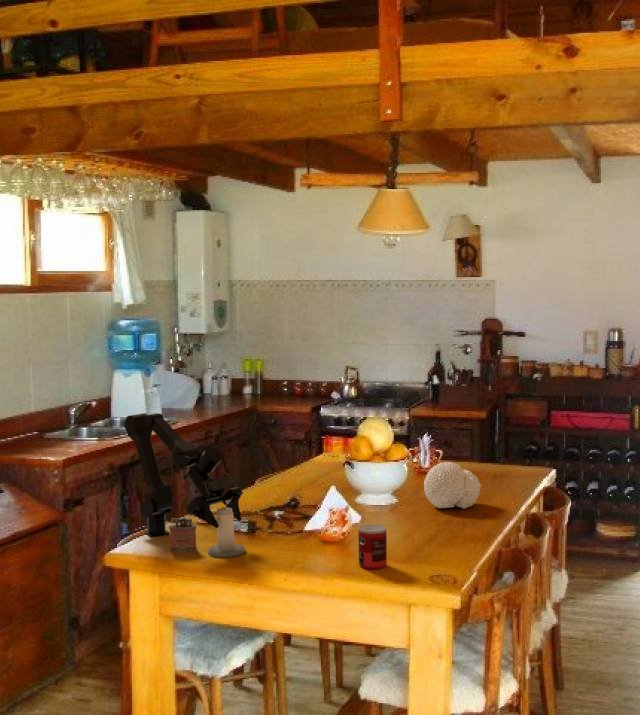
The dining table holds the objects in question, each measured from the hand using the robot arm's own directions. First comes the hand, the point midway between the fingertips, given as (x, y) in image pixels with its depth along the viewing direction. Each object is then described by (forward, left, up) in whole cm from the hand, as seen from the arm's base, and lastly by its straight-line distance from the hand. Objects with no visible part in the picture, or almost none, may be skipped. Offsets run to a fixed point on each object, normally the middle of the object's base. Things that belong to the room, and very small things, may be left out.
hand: (229, 523), depth 290 cm
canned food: (+34, +29, -9) cm, 45 cm away
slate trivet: (-1, 0, -9) cm, 9 cm away
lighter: (-11, -10, -9) cm, 17 cm away
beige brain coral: (-6, +89, -9) cm, 89 cm away
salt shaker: (-1, -1, -8) cm, 8 cm away
